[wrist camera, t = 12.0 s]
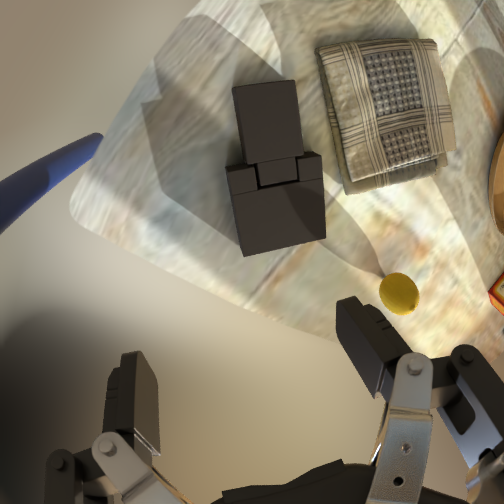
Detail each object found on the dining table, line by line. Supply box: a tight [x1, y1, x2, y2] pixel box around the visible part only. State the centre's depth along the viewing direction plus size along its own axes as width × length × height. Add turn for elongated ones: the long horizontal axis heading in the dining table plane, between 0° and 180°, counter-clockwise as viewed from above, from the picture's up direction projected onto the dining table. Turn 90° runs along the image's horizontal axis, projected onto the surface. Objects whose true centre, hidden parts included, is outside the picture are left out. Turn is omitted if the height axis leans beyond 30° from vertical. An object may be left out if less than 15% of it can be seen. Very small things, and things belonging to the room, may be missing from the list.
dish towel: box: [314, 38, 456, 195], centre depth 31 cm, size 19×18×3 cm
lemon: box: [379, 273, 419, 315], centre depth 41 cm, size 6×6×8 cm
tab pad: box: [232, 80, 304, 186], centre depth 30 cm, size 6×10×2 cm, turn 8°
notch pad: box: [225, 151, 326, 257], centre depth 34 cm, size 10×10×2 cm
